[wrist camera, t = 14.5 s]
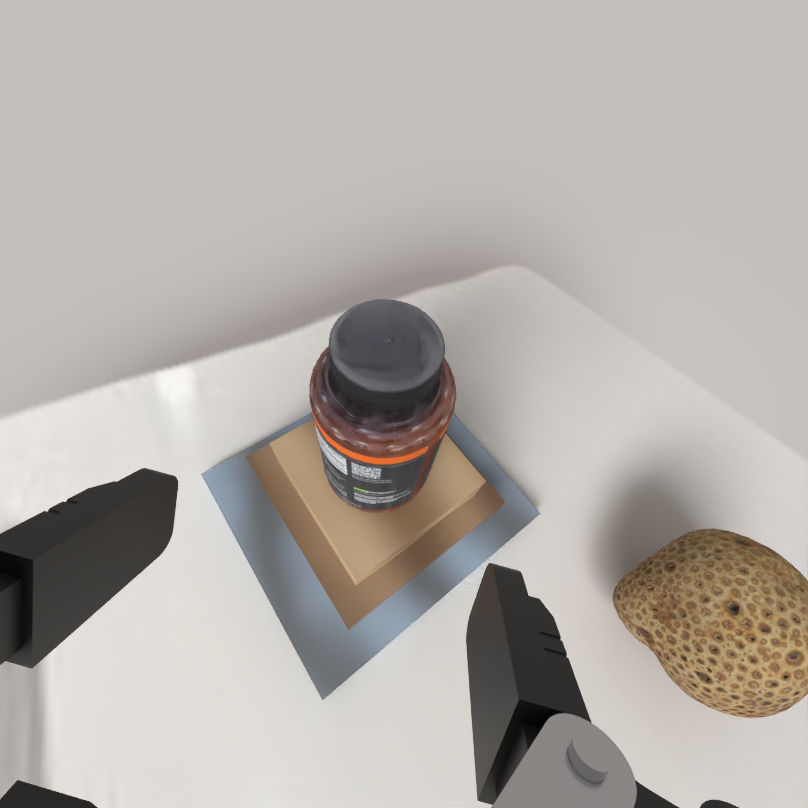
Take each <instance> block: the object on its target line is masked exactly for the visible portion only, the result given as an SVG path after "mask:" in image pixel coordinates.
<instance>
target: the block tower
mask: <svg viewBox="0 0 808 808" xmlns="http://www.w3.org/2000/svg"><path fill="white" fill-rule="evenodd" d="M201 475H202V476H203V478H204V480H205V482H206V484H207V486H208V488H209V489H210V491H211V493H212V495H213V497H214V499H215V501H216V502H217V504H218V506H219V508H220V510H221V512H222V514H223V516H224V517H225V519H226V521H227V523H228V525H229V527H230V529H231V530H232V532H233V534H234V536H235V538H236V540H237V542H238V543H239V545H240V547H241V549H242V551H243V553H244V555H245V557H246V558H247V560H248V562H249V564H250V566H251V568H252V570H253V571H254V573H255V575H256V577H257V579H258V581H259V583H260V584H261V586H262V588H263V590H264V592H265V594H266V596H267V597H268V599H269V601H270V603H271V605H272V607H273V609H274V611H275V612H276V614H277V616H278V618H279V620H280V622H281V624H282V625H283V627H284V629H285V631H286V633H287V635H288V637H289V638H290V640H291V642H292V644H293V646H294V648H295V650H296V651H297V653H298V655H299V657H300V659H301V661H302V663H303V665H304V666H305V668H306V670H307V672H308V674H309V676H310V678H311V679H312V681H313V683H314V685H315V687H316V689H317V691H318V692H319V694H320V696H321V698H322V700H323V699H325V698H326V697H327V696H328V695H329V694H330V693H332V692H333V691H334V690H335V689H336V688H337V687H339V686H340V685H341V684H342V683H343V682H344V681H346V680H347V679H348V678H349V677H350V676H351V675H353V674H354V673H355V672H356V671H357V670H358V669H360V668H361V667H362V666H363V665H364V664H365V663H367V662H368V661H369V660H370V659H371V658H372V657H374V656H375V655H376V654H377V653H378V652H379V651H381V650H382V649H383V648H384V647H385V646H386V645H388V644H389V643H390V642H391V641H392V640H393V639H395V638H396V637H397V636H398V635H399V634H400V633H402V632H403V631H404V630H405V629H406V628H407V627H409V626H410V625H411V624H412V623H413V622H414V621H416V620H417V619H418V618H419V617H420V616H421V615H423V614H424V613H425V612H426V611H427V610H428V609H430V608H431V607H432V606H433V605H434V604H435V603H437V602H438V601H439V600H440V599H441V598H442V597H444V596H445V595H446V594H447V593H448V592H449V591H451V590H452V589H453V588H454V587H455V586H456V585H458V584H459V583H460V582H461V581H462V580H463V579H465V578H466V577H467V576H468V575H469V574H470V573H472V572H473V571H474V570H475V569H476V568H477V567H479V566H480V565H481V564H482V563H483V562H484V561H486V560H487V559H488V558H489V557H490V556H491V555H493V554H494V553H495V552H496V551H497V550H498V549H500V548H501V547H502V546H503V545H504V544H505V543H507V542H508V541H509V540H510V539H511V538H512V537H514V536H515V535H516V534H517V533H518V532H519V531H521V530H522V529H523V528H524V527H525V526H526V525H528V524H529V523H530V522H531V521H532V520H533V519H535V518H536V517H537V516H538V515H539V514H540V512H539V511H538V510H537V509H536V508H535V507H534V505H533V504H532V503H531V502H530V501H529V500H528V498H527V497H526V496H525V495H524V494H523V493H522V492H521V490H520V489H519V488H518V487H517V486H516V485H515V484H514V482H513V481H512V480H511V479H510V478H509V477H508V476H507V474H506V473H505V472H504V471H503V470H502V469H501V467H500V466H499V465H498V464H497V463H496V462H495V461H494V459H493V458H492V457H491V456H490V455H489V454H488V453H487V451H486V450H485V449H484V448H483V447H482V446H481V444H480V443H479V442H478V441H477V440H476V439H475V438H474V436H473V435H472V434H471V433H470V432H469V431H468V430H467V428H466V427H465V426H464V425H463V424H462V423H461V422H460V420H459V419H458V418H457V417H456V416H455V415H454V413H453V415H452V417H451V420H450V422H449V426H448V428H447V430H446V433H445V435H444V438H443V440H442V443H441V445H440V448H439V450H438V453H437V455H436V458H435V460H434V462H433V465H432V468H431V470H430V472H429V475H428V477H427V480H426V482H425V484H424V485H423V487H422V489H421V490H420V492H419V493H418V494H417V495H416V496H415V497H414V498H413V499H412V500H411V501H410V502H408V503H407V504H405V505H404V506H402V507H400V508H398V509H396V510H393V511H389V512H383V513H370V512H366V511H361V510H359V509H356V508H354V507H352V506H349V505H347V504H346V503H345V502H344V501H342V500H341V499H340V498H339V497H338V496H337V494H336V493H335V492H334V491H333V489H332V488H331V486H330V484H329V482H328V479H327V476H326V474H325V471H324V465H323V460H322V456H321V451H320V446H319V442H318V436H317V432H316V428H315V422H314V418H313V413H312V414H310V415H308V416H306V417H304V418H303V419H301V420H299V421H297V422H295V423H293V424H292V425H290V426H288V427H286V428H284V429H283V430H281V431H279V432H277V433H275V434H273V435H272V436H270V437H268V438H266V439H264V440H262V441H261V442H259V443H257V444H255V445H253V446H252V447H250V448H248V449H246V450H244V451H242V452H241V453H239V454H237V455H235V456H233V457H232V458H230V459H228V460H226V461H224V462H222V463H221V464H219V465H217V466H215V467H213V468H212V469H210V470H208V471H206V472H204V473H202V474H201Z"/></svg>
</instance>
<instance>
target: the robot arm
mask: <svg viewBox="0 0 808 808" xmlns="http://www.w3.org/2000/svg"><path fill="white" fill-rule="evenodd" d="M177 491H178V480H177V478H176V477H175V476H172V475H169V474H165V473H161V472H158V471H154V470H150V469H147V468H143V469H140V470H138V471H136V472H134V473H132V474H131V475H129V476H127V477H125V478H123V479H121V480H119V481H118V482H115V481H114V482H110V483H107V484H103V485H99V486H96V487H92V488H88V489H86V490H85V491H83V492H81V493H79V494H77V495H75V496H73V497H71V498H69V499H67V501H66V502H61V503H59V504H57V505H55V506H53V507H51V508H50V509H49V511H48V512H46V511H44V512H42V513H40V514H38V515H36V516H34V517H32V518H30V519H28V520H26V521H24V522H22V523H20V524H18V525H17V526H15V527H13V528H11V529H9V530H7V531H5V532H3V533H1V534H0V665H1V664H2V663H3V662H4V661H8V662H11V663H15V664H18V665H22V666H25V667H28V668H33V667H34V666H35V665H36V664H38V663H39V662H40V661H41V660H42V659H43V658H44V657H45V656H47V655H48V654H49V653H50V652H51V651H52V650H53V649H55V648H56V647H57V646H58V645H59V644H60V643H61V642H62V641H64V640H65V639H66V638H67V637H68V636H69V635H70V634H71V633H73V632H74V631H75V630H76V629H77V628H78V627H79V626H81V625H82V624H83V623H84V622H85V621H86V620H87V619H88V618H90V617H91V616H92V615H93V614H94V613H95V612H96V611H98V610H99V609H100V608H101V607H102V606H103V605H104V604H105V603H107V602H108V601H109V600H110V599H111V598H112V597H113V596H115V595H116V594H117V593H118V592H119V591H120V590H121V589H122V588H124V587H125V586H126V585H127V584H128V583H129V582H130V581H132V580H133V579H134V578H135V577H136V576H137V575H138V574H139V573H141V572H142V571H143V570H144V569H145V568H146V567H147V566H149V565H150V564H151V563H152V562H153V561H154V560H155V559H156V558H158V557H159V556H160V555H161V554H162V552H163V551H164V550H165V548H166V547H167V545H168V543H169V541H170V539H171V536H172V532H173V526H174V517H175V508H176V499H177ZM560 638H561V636H560V634H559V631H558V628H557V625H556V623H555V620H554V617H553V616H552V615H551V613H550V612H549V611H548V610H547V608H546V607H545V606H544V604H543V603H542V602H541V600H540V599H538V598H534V597H531V596H528V593H527V589H526V586H525V583H524V579H523V576H522V573H521V572H520V571H518V570H514V569H510V568H507V567H503V566H499V565H496V564H492V563H489V564H488V566H487V567H486V570H485V572H484V575H483V578H482V581H481V584H480V587H479V590H478V593H477V596H476V599H475V601H474V604H473V607H472V610H471V613H470V617H469V621H468V626H467V635H466V645H467V659H468V673H469V687H470V701H471V715H472V729H473V743H474V756H475V770H476V784H477V798H478V801H481V802H484V803H488V804H491V805H493V806H492V807H491V808H679V807H677V806H675V805H674V804H672V803H670V802H669V801H667V800H665V799H664V798H662V797H660V796H659V795H657V794H655V793H654V792H652V791H650V790H649V789H647V788H646V787H644V786H643V785H641V784H640V783H638V782H637V781H636V780H635V778H634V775H633V773H632V770H631V768H630V766H629V764H628V762H627V760H626V758H625V757H624V755H623V754H622V752H621V751H620V750H619V748H618V747H617V746H616V744H615V743H614V742H613V741H612V740H611V739H610V738H609V737H608V736H607V735H606V734H605V733H604V732H603V731H602V730H600V729H599V728H598V727H596V726H595V725H594V724H592V723H591V720H590V717H589V715H588V712H587V709H586V706H585V703H584V701H583V698H582V695H581V692H580V689H579V687H578V684H577V681H576V678H575V676H574V673H573V670H572V667H571V664H570V662H569V659H568V658H566V655H567V653H566V650H565V648H564V645H563V642H562V641H560ZM0 808H97V807H96V806H95V805H94V804H92V803H91V802H89V801H86V800H82V799H79V798H76V797H72V796H69V795H66V794H62V793H59V792H56V791H52V790H49V789H46V788H42V787H39V786H36V785H32V784H29V783H26V782H22V781H19V780H17V781H16V783H15V784H14V785H13V786H12V787H11V788H10V789H9V790H8V791H7V793H6V794H5V795H4V796H3V797H2V798H1V799H0ZM700 808H738V807H736V806H734V805H732V804H730V803H727V802H724V801H720V800H709V801H706V802H704V803H703V804H702V805H701V807H700Z"/></svg>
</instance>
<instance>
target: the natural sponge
mask: <svg viewBox="0 0 808 808" xmlns="http://www.w3.org/2000/svg"><path fill="white" fill-rule="evenodd" d="M613 602H614V607H615V609H616V611H617V614H618V616H619V618H620V619H621V621H622V622H623V623H624V625H625V626H626V628H627V629H628V630H629V631H630V632H631V633H632V634H633V635H634V636H635V637H636V638H637V639H638V640H639V641H640V642H642V643H643V644H645V645H646V646H648V647H649V648H650V649H651V650H652V651H653V652H654V653H655V655H656V656H657V658H658V660H659V661H660V663H661V665H662V666H663V668H664V669H665V671H666V673H667V674H668V675H669V677H670V678H671V679H672V680H673V682H675V683H676V684H677V685H678V686H679V687H680V688H681V689H682V690H683V691H684V692H685V693H686V694H688V695H689V696H690V697H692V698H694V699H695V700H697V701H699V702H700V703H702V704H704V705H706V706H708V707H710V708H713V709H715V710H717V711H720V712H723V713H726V714H730V715H734V716H738V717H746V718H757V717H766V716H771V715H774V714H777V713H780V712H782V711H785V710H787V709H789V708H790V707H792V706H793V705H795V704H796V703H797V702H799V701H800V700H801V699H802V698H803V697H805V696H806V695H807V694H808V581H807V579H806V578H805V577H804V576H803V575H802V574H801V573H800V572H799V571H798V570H797V569H796V568H795V567H794V566H793V565H792V564H790V563H789V562H788V561H787V560H785V559H784V558H783V557H782V556H781V555H779V554H778V553H776V552H775V551H773V550H772V549H770V548H768V547H766V546H764V545H762V544H760V543H758V542H756V541H754V540H752V539H750V538H748V537H745V536H741V535H739V534H736V533H733V532H729V531H724V530H718V529H702V530H696V531H692V532H689V533H687V534H684V535H682V536H681V537H679V538H677V539H676V540H674V541H673V542H671V543H670V544H668V545H667V546H665V547H664V548H662V549H660V550H659V551H658V552H657V553H655V554H654V555H652V556H651V557H650V558H648V559H647V560H645V561H644V562H642V563H641V564H640V565H638V566H637V567H635V568H634V569H633V570H631V571H630V572H629V573H627V574H626V575H625V576H624V577H623V578H622V579H621V580H620V581H619V583H618V585H617V586H616V588H615V590H614V593H613Z"/></svg>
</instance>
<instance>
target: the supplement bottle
mask: <svg viewBox="0 0 808 808" xmlns="http://www.w3.org/2000/svg"><path fill="white" fill-rule="evenodd" d="M444 354H445V345H444V339H443V336H442V333H441V331H440V329H439V328H438V326H437V325H436V323H435V322H434V321H433V320H432V319H431V318H430V317H429V316H428V315H427V314H426V313H425V312H423V311H422V310H420V309H419V308H417V307H415V306H413V305H410V304H408V303H404V302H401V301H395V300H380V299H379V300H373V301H368V302H364V303H361V304H359V305H356V306H354V307H352V308H350V309H349V310H348V311H346V312H345V313H344V314H343V315H342V316H340V317H339V319H338V320H337V321H336V323H335V324H334V326H333V328H332V330H331V333H330V338H329V346H328V347H327V348H326V349H325V351H324V352H323V353H322V354H321V356H320V358H319V359H318V360H317V362H316V365H315V366H314V369H313V373H312V376H311V380H310V403H311V408H312V413H313V418H314V422H315V428H316V432H317V436H318V442H319V446H320V451H321V456H322V460H323V465H324V471H325V474H326V476H327V479H328V482H329V484H330V486H331V488H332V489H333V491H334V492H335V493H336V494H337V496H338V497H339V498H340V499H341V500H342V501H344V502H345V503H346V504H347V505H349V506H352V507H354V508H356V509H359V510H361V511H366V512H370V513H383V512H389V511H393V510H396V509H398V508H400V507H402V506H404V505H405V504H407V503H408V502H410V501H411V500H412V499H413V498H414V497H415V496H416V495H417V494H418V493H419V492H420V490H421V489H422V487H423V485H424V484H425V482H426V480H427V477H428V475H429V472H430V470H431V468H432V465H433V462H434V460H435V458H436V455H437V453H438V450H439V448H440V445H441V443H442V440H443V438H444V435H445V433H446V430H447V428H448V426H449V422H450V420H451V417H452V415H453V411H454V406H455V399H456V387H455V381H454V376H453V374H452V371H451V368H450V367H449V364H448V363H447V361H446V359H445V358H444Z"/></svg>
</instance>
